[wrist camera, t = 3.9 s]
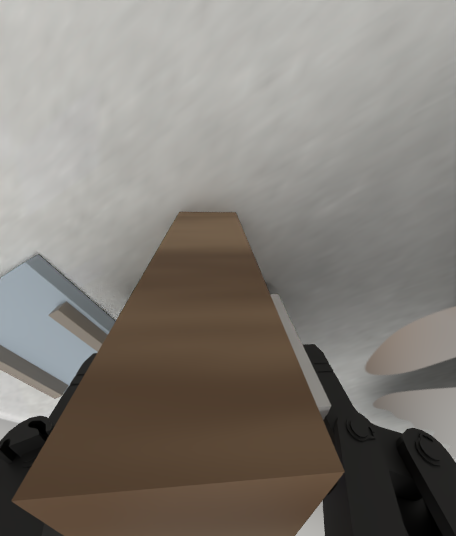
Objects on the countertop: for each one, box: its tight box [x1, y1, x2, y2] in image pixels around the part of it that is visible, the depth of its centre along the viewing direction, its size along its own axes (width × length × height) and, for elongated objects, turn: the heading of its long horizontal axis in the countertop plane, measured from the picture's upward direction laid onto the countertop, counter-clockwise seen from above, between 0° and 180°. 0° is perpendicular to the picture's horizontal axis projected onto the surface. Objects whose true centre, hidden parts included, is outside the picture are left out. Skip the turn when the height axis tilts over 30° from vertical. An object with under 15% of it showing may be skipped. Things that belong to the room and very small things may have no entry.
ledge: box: [0, 254, 116, 399], centre depth 17 cm, size 8×24×2 cm, turn 28°
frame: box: [11, 212, 345, 536], centre depth 10 cm, size 12×3×11 cm, turn 178°
